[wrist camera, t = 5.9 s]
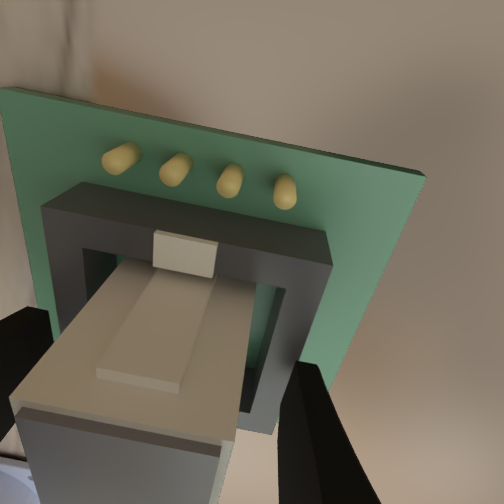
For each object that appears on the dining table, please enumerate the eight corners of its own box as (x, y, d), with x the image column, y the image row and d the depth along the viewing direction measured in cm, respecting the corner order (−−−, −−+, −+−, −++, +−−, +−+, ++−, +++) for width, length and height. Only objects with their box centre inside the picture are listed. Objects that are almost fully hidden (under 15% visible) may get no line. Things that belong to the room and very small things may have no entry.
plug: (240, 347, 13) (207, 547, 8) (139, 327, 13) (35, 514, 8) (261, 255, 11) (235, 443, 5) (140, 230, 11) (-4, 396, 5)
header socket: (310, 417, 16) (314, 482, 13) (59, 367, 16) (17, 423, 13) (419, 170, 10) (463, 207, 7) (11, 86, 10) (-82, 94, 7)
